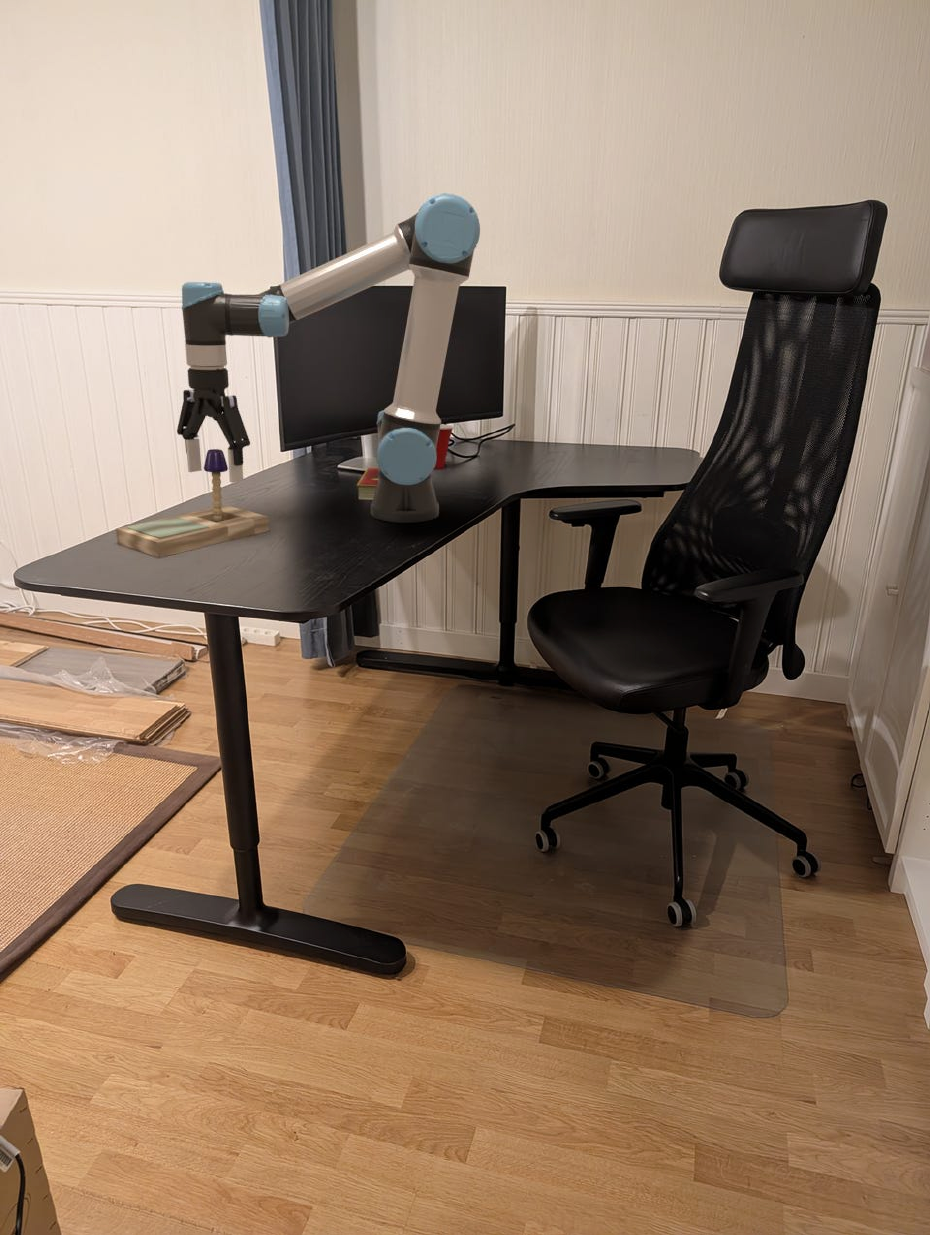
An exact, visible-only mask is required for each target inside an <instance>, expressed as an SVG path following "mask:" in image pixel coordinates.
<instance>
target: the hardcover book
mask: <svg viewBox="0 0 930 1235" xmlns="http://www.w3.org/2000/svg"><path fill="white" fill-rule="evenodd" d="M377 484H378V467H367V468H366V470H365V471H364V472H363V475H362V476H361V478H360V479H359V481H358V482H357V484H356V488H358V500H369V501H373V499H374V494H375V490H376V487H377Z"/></svg>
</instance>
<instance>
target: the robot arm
mask: <svg viewBox="0 0 930 1235" xmlns="http://www.w3.org/2000/svg"><path fill="white" fill-rule="evenodd" d="M480 224H481V223H480V221H479V217H478V213H477V212H476V210H475V208H474V207H473V206H472V204H471V203H469V201H468V200H466V199H464V198H463V197H462V196H459V195H456V194H454V193H452V194H451V193H445V192H444V193H439V194H436V195H433V196H431V197H430V198H428V199H427V200H425V202H424V203H423V204H421V206H420V207H419V209H418V212H416V213H415V214H413V215H412V216H410V217H409V218H408V219H406V220H403V221H401V222H399V223H397V224H395V227H394V229H393V232H391V233H387V234H386V235H384V236H381V237H380V238H377V239H375V240H373V241H371V242H368V243H367V244H365V245H362V246H360V247H358V248H356V249H354V250H352V251H349V252H347V253H345V254H343V255H340V256H339V257H336V258H334V259H332V260H329V261H327V262H325V263H324V264H322V265H319V266H317V267H314V268H313V269H310V270H308V271H306V272H303V273H302V274H300V275H298V276H295V277H293V278H291V279H289V280H286V281H284V282H282V283H280V284H278V285H276V286H273V287H271V288H269V289H267V290H265V291H262V292H260V293H258V294H232V293H225V292H224V290H223V285H222V283H220V282H203V281H187V282H185V283H184V284H183V285H182V287H181V301H182V302H181V303H182V305H181V311H182V318H183V329H184V330H183V331H184V339H185V340H184V342H185V358H186V365H187V366H188V367H189V368H188V369H187V383H188V386H189V389H184V390H183V395H182V396H183V402H182V407H181V411H180V415H179V421H178V424H177V429H176V433H177V435H178V436H179V435H180V436H182V438H183V439H184V442H185V444H184V445H185V453H186V458H187V459H186V460H187V471H188V473H195V472H200V471H203V470H202V460H201V456H202V455H201V447H200V446H201V444H200V439H199V437H200V436H199V431H200V429H201V427H202V425H203V423H204V421H205V419H206V417H209V418H211V419H213V421H214V422H216V423H217V425H218V426H219V428H220V430H221V432H222V434H223V437H224V438H225V440H226V441H227V444H228V445H229V446H228V448H227V458H228V460H227V461H228V473H229V474H228V476H229V483H239V482H243V481H244V472H243V470H244V469H243V465H244V452H243V449H244V448H245V447H250V445H251V441H250V438H249V435H248V433H247V430H246V427H245V424H244V421H243V417H242V415H241V413H240V410H239V406H238V400H237V399H238V398H237V396H236V395H234V394H233V395H226V394H225V390H226V389H228V388H229V385H230V384H229V383H230V382H229V370H228V369H227V368H226V366H227V365H228V357H227V341H226V336H233V337H234V336H241V337H242V336H243V337H267V338H274V337H285V336H287V334H288V333H289V328H290V325H291V324H292V323H294V322H296V321H298V320H300V319H303V318H305V317H307V316H309V315H311V314H313V313H315V312H319V311H321V310H322V309H324V308H327V307H329V306H331V305H333V304H334V305H335V303H338V302H340V301H343V300H345V299H347V298H350V297H352V296H353V295H355V294H357V293H360V292H363V291H365V290H366V289H370V288H371V287H373V286H375V285H378V284H380V283H382V282H384V281H386V280H389V279H391V278H393V277H396V276H398V275H400V274H402V273H404V272H407V271H408V270H409V271H411V272H412V273H413V276H414V280H413V286H412V291H411V297H410V303H409V308H408V314H407V320H406V327H405V332H404V338H403V341H402V342H403V343H402V348H401V349H402V350H401V356H400V361H399V367H398V373H397V378H396V384H395V389H394V395H393V401H392V403H391V404H390V405H388V406H387V407H386V408H384V410H383V409H382V410H381V411H379V412H378V414H377V421H376V426H377V448H376V451H375V453H376V454H375V457H376V458H375V459H376V463H377V468H378V484H377V487H376V490H375V494H374V499H373V500H371V504H370V515H371V517H372V518H374V519H376V520H379V521H383V522H384V521H385V522H389V523H400V524H401V523H402V524H403V523H405V524H406V523H408V524H409V523H411V524H412V523H422V522H427V521H431V520H434V519H436V518H438V517H439V514H440V512H439V511H440V506H439V505H440V504H439V502H438V501H437V498H436V494H435V489H434V486H433V482H432V472H433V470H435V469H434V467H435V464H436V460H437V456H436V453H437V452H436V446H437V441H438V435H439V430H440V425H441V424H442V420H441V418H440V417H439V415H438V414H437V405H438V399H439V395H440V394H439V393H440V389H441V383H442V378H443V374H444V368H445V361H446V356H447V351H448V347H449V341H450V337H451V336H450V335H451V331H452V325H453V320H454V314H455V309H456V304H457V300H458V299H457V298H458V294H459V289H460V286H461V285H462V284H463V283H465V282H466V281H467V280H469V278H470V273H471V267H472V263H473V257H474V253H475V252H474V251H475V249H476V248H477V245H478V243H479V240H480V235H481V225H480Z"/></svg>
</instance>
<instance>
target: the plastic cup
mask: <svg viewBox="0 0 930 1235" xmlns="http://www.w3.org/2000/svg"><path fill="white" fill-rule="evenodd" d="M454 429H455V426H453V425H451V424H450V425H449V424H443V423H441V425H440V430H439V435H438V441H437V446H436V452H437V453H436V456H437V460H436V464H435V467H434V469H433V470H441V469H444V468H445V466H446V459H447V455H448V450H449V443H450V438H451V434H452V432H453V430H454Z"/></svg>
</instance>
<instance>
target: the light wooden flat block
mask: <svg viewBox="0 0 930 1235" xmlns="http://www.w3.org/2000/svg"><path fill="white" fill-rule="evenodd" d="M213 509H214V507H211V508H206V509H202V510H197V511H193V512H188V513H182V514H178V515H174V516H169V517H164V518H160V519H155V520H150V521H145V522H140V523H135V524H131V525H127V526H123V527H117V528H115V532H116V533H115V534H116V542H117V544H119V545H121V546H124V547H127V548H129V549H132V550H135V551H138V552H141V553H144V554H147V555H149V556H153V557H155V558H159V559H160V558H165V557H167V556H168V557H170V556H172V555H176V554H181V553H184V552H189V551H193V550H197V549H201V548H205V547H208V546H212V545H216V544H221V543H225V542H229V541H233V540H236V539H238V540H239V539H241V538H245V537H250V536H254V535H257V534H261V533H265V532H270V520H269V516H268V515H264V514H260V513H256V512H252V511H248V510H246V509H241V508H237V507H234V506H230V505H222V507H221V509H222V514H221V516H222V521H221V522H217V523H215V522H214V513H213Z"/></svg>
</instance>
